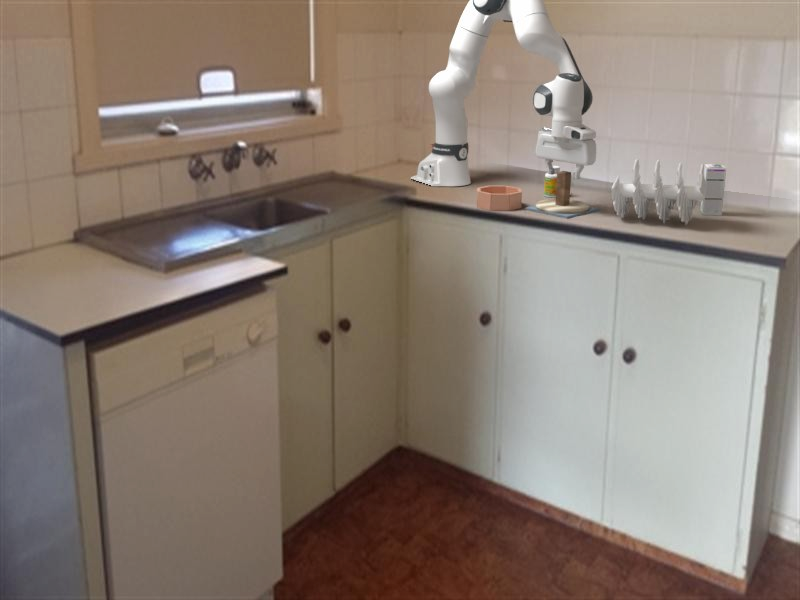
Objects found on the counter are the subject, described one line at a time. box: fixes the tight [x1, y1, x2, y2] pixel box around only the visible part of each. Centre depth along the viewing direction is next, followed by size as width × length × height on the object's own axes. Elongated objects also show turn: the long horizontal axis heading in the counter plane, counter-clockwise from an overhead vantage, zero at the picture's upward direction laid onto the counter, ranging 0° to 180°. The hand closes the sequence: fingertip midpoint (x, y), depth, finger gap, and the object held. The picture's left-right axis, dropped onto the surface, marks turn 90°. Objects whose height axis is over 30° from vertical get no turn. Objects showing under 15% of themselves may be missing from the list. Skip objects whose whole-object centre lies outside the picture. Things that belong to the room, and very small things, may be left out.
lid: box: [535, 170, 590, 214], centre depth 264 cm, size 16×16×11 cm
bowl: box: [476, 185, 523, 212], centre depth 270 cm, size 14×14×5 cm
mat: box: [524, 204, 601, 219], centre depth 265 cm, size 16×16×1 cm
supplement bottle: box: [543, 165, 561, 199], centre depth 283 cm, size 5×5×10 cm
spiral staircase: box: [610, 158, 705, 226], centre depth 250 cm, size 18×18×25 cm
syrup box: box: [699, 163, 727, 217], centre depth 258 cm, size 6×6×14 cm
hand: (563, 176), depth 262 cm, fingers open, 8 cm apart
